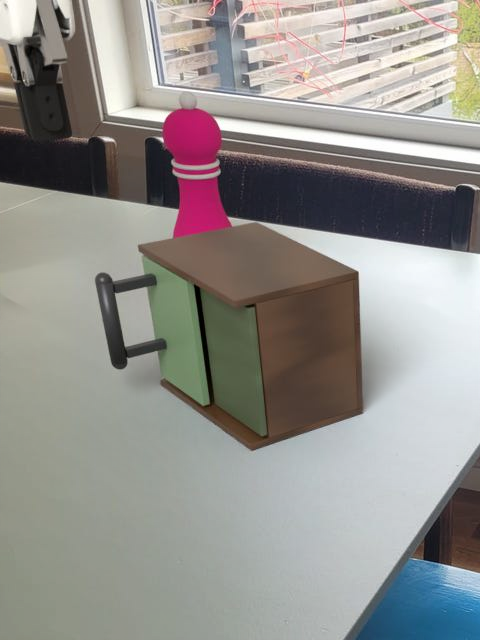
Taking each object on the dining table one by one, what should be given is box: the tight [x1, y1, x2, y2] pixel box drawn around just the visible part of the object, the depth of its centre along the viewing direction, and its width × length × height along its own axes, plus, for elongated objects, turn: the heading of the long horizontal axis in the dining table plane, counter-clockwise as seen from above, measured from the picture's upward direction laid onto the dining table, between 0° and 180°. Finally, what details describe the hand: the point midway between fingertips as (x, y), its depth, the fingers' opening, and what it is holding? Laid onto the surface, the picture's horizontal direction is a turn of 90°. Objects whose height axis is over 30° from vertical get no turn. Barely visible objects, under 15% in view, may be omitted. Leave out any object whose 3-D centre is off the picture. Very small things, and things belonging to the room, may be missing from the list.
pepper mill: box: [162, 90, 234, 238], centre depth 108 cm, size 7×7×20 cm
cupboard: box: [137, 221, 364, 451], centre depth 89 cm, size 12×16×13 cm
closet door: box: [94, 254, 210, 406], centre depth 87 cm, size 6×8×11 cm
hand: (49, 137), depth 81 cm, fingers closed
